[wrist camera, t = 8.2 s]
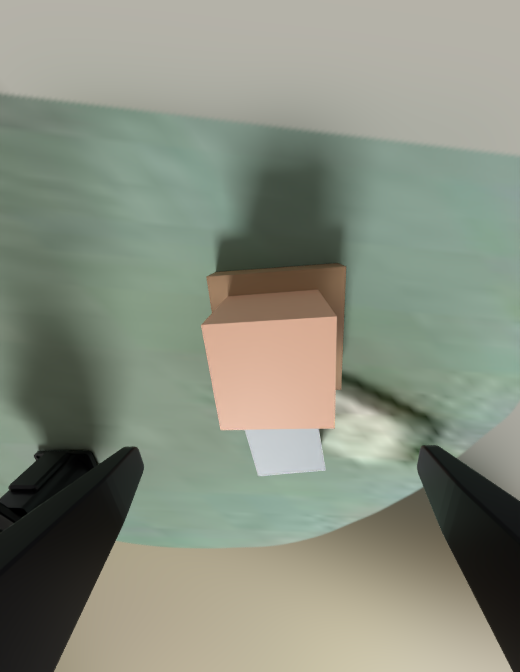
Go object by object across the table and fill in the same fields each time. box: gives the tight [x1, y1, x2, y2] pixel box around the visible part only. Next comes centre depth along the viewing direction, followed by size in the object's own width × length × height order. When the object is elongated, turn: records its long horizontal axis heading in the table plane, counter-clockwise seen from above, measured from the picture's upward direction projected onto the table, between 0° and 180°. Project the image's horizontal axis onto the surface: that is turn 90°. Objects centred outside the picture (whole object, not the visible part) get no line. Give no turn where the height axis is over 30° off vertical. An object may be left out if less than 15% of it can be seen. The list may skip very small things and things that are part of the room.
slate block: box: [245, 429, 326, 476], centre depth 22 cm, size 6×6×3 cm
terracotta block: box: [201, 290, 337, 430], centre depth 15 cm, size 6×6×6 cm
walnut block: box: [207, 263, 346, 390], centre depth 19 cm, size 9×9×3 cm
